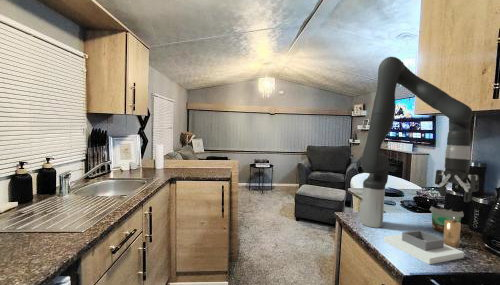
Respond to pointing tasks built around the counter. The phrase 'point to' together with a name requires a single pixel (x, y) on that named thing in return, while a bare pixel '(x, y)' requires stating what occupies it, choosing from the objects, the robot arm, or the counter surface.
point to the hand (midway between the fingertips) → (454, 198)
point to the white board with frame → (424, 246)
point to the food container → (443, 217)
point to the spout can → (452, 232)
